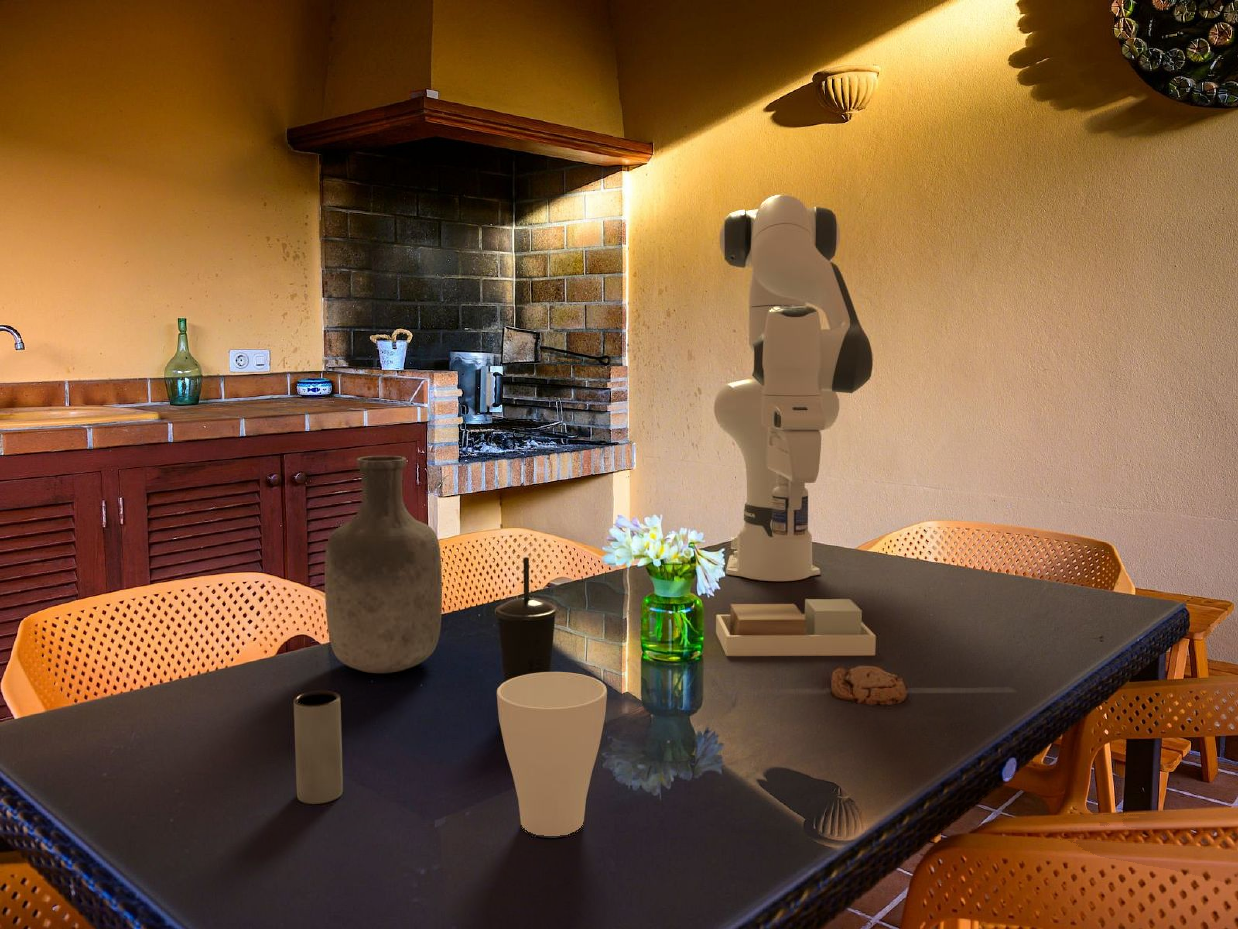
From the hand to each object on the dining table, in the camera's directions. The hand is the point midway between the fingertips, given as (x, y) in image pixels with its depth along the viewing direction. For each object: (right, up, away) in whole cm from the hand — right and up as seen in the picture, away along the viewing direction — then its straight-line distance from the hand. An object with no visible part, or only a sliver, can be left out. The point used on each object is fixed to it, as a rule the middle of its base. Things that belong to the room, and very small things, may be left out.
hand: (789, 505), depth 156 cm
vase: (-59, -23, -9) cm, 64 cm away
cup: (-32, -29, -56) cm, 71 cm away
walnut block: (-3, -21, +2) cm, 21 cm away
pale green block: (+7, -21, +2) cm, 22 cm away
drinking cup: (-37, -25, -27) cm, 53 cm away
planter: (-56, -28, -50) cm, 80 cm away
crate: (+1, -22, +2) cm, 22 cm away
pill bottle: (0, -5, +1) cm, 5 cm away
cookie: (+8, -25, -18) cm, 31 cm away
